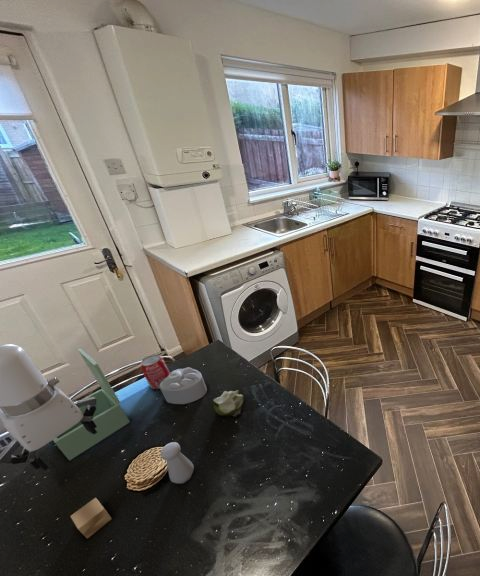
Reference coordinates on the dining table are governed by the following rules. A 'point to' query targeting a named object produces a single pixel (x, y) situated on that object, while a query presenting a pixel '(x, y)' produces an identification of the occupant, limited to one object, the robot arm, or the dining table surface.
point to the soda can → (154, 370)
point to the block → (90, 518)
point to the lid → (99, 375)
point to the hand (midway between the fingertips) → (69, 448)
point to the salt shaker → (177, 463)
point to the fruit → (228, 403)
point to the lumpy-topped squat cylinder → (183, 386)
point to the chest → (107, 422)
